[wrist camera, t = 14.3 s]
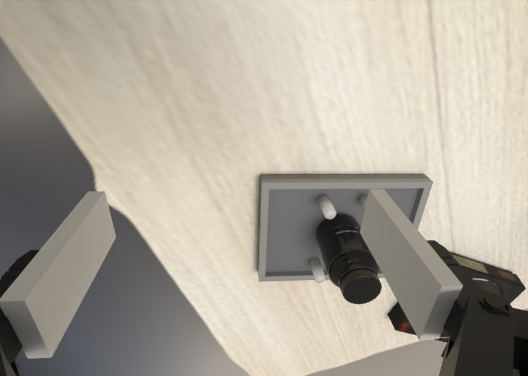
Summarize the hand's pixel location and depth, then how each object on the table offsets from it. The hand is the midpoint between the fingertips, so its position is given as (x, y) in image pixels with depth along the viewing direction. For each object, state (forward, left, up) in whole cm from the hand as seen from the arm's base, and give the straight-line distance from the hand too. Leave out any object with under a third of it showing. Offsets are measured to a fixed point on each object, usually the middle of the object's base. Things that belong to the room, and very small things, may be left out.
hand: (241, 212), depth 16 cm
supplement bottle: (+15, -20, -25) cm, 35 cm away
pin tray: (+15, -20, -27) cm, 36 cm away
